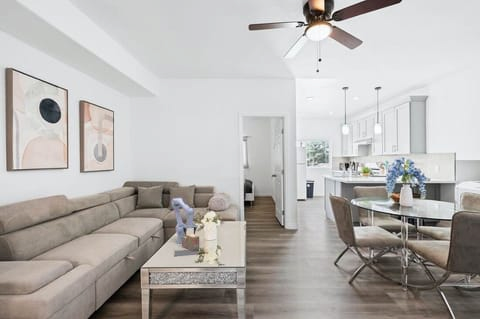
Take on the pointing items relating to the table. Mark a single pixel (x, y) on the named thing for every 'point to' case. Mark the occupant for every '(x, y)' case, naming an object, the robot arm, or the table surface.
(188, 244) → the stack of blocks
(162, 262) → the table surface
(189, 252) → the mat
